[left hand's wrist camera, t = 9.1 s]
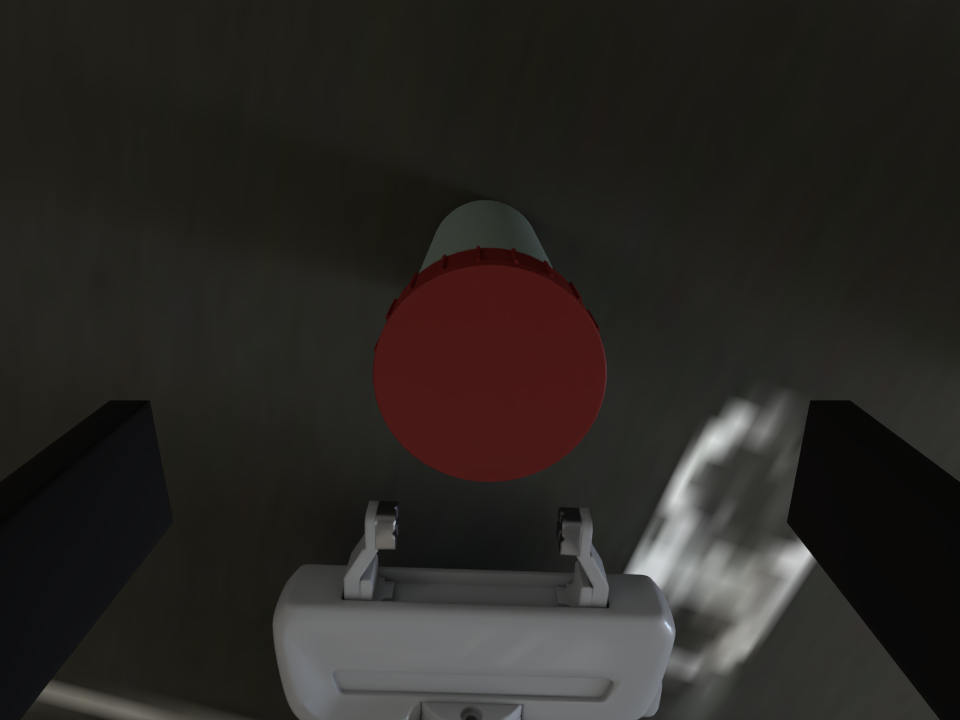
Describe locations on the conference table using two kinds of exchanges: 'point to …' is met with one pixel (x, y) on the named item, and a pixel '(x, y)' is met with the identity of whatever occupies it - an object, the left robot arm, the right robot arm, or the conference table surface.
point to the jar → (484, 231)
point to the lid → (489, 366)
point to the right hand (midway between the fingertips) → (479, 510)
